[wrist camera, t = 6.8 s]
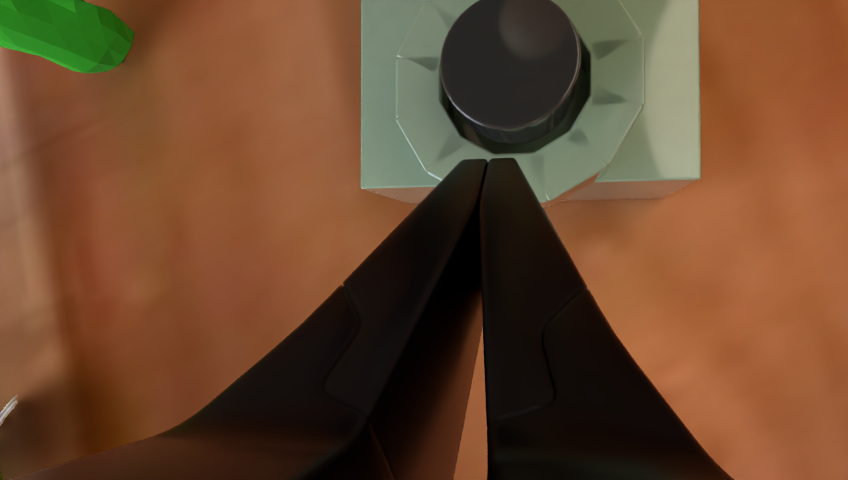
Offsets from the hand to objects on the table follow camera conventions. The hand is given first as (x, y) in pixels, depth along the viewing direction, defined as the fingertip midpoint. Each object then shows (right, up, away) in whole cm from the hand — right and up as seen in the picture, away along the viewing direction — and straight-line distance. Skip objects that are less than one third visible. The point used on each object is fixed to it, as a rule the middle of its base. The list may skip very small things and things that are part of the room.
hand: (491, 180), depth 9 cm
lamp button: (+1, +3, +5) cm, 6 cm away
